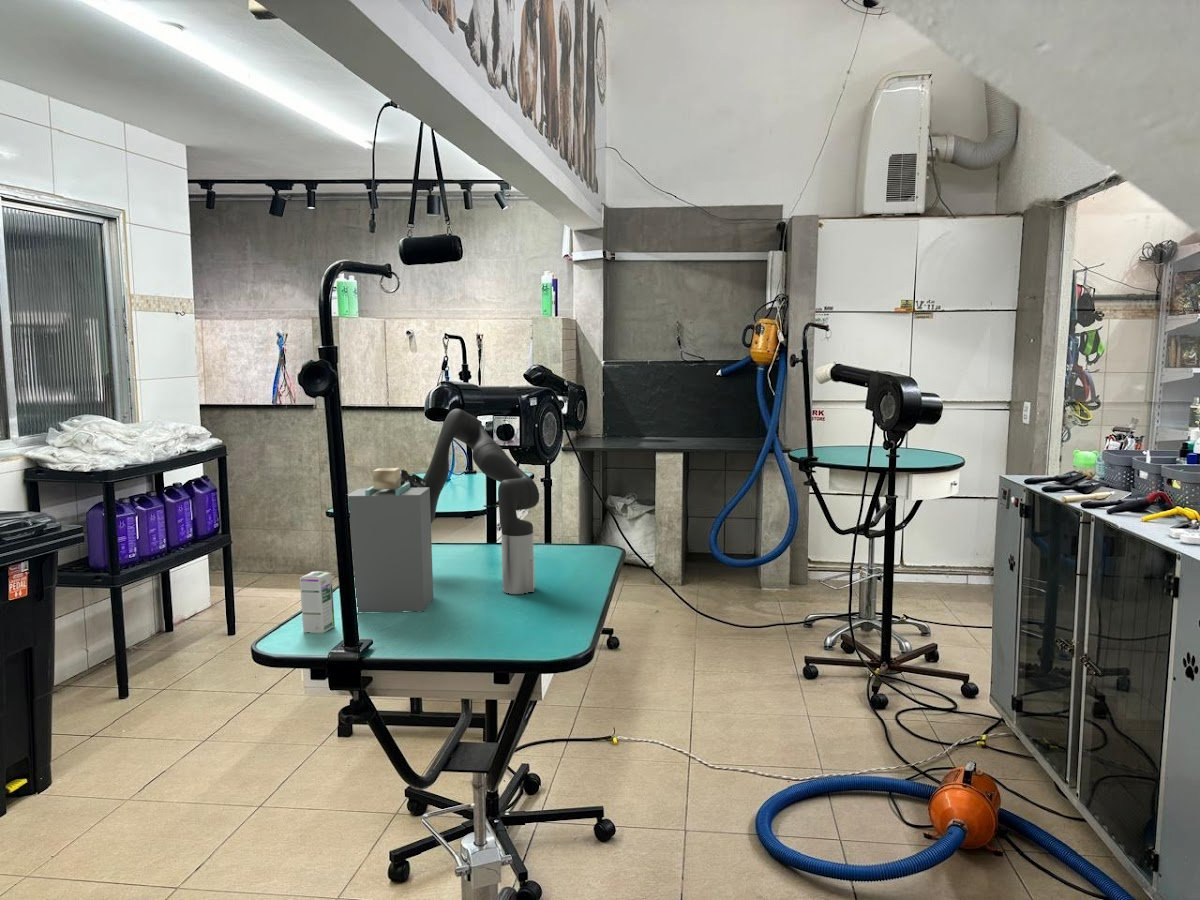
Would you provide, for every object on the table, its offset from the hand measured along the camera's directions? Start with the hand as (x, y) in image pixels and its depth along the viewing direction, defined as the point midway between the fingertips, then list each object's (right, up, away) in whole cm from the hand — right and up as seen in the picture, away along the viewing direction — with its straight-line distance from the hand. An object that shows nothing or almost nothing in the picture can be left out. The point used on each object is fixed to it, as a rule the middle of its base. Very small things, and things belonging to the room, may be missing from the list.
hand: (396, 472), depth 243 cm
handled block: (0, -3, -4) cm, 5 cm away
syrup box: (-13, -39, -28) cm, 50 cm away
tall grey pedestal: (+1, -37, -7) cm, 37 cm away
